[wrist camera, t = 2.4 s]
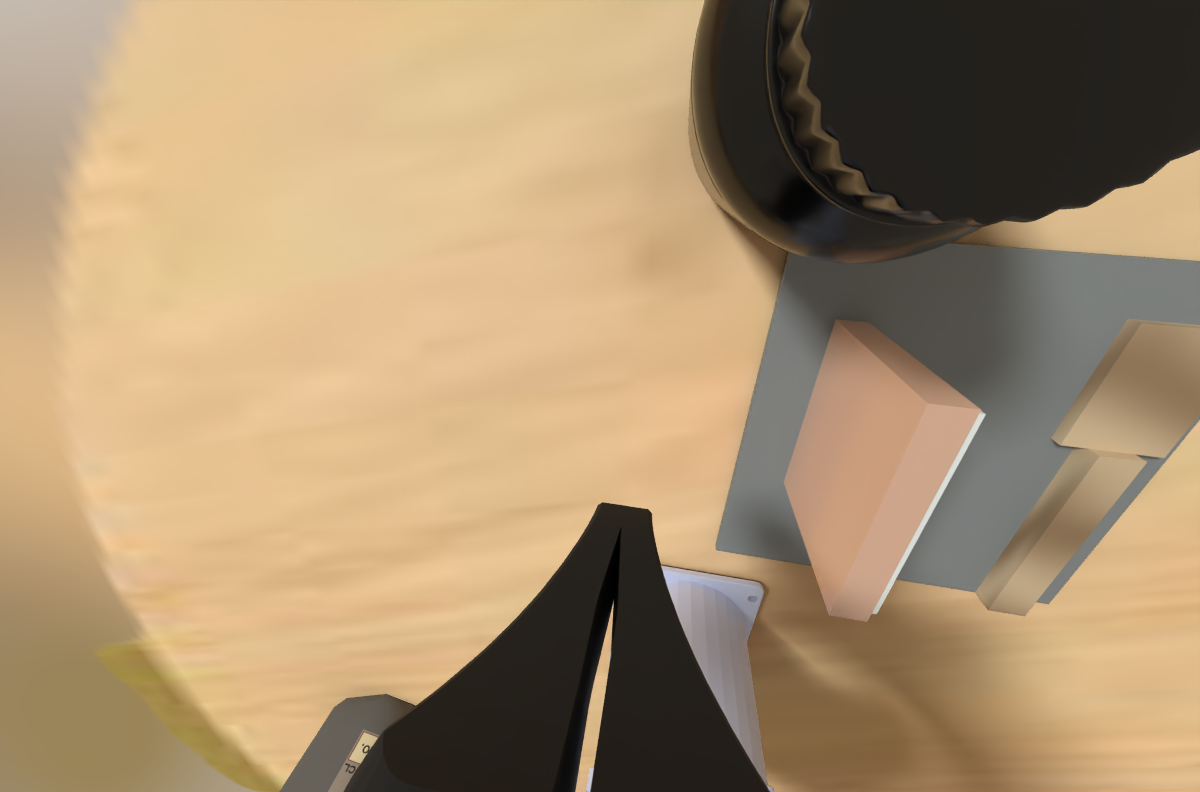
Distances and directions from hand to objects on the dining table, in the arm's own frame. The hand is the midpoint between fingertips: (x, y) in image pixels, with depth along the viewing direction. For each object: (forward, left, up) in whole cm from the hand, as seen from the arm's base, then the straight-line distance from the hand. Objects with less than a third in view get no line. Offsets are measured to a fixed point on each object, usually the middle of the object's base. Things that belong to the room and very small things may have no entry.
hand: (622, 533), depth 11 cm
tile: (0, -8, -9) cm, 12 cm away
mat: (-1, -13, -9) cm, 16 cm away
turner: (-2, -18, -9) cm, 20 cm away
